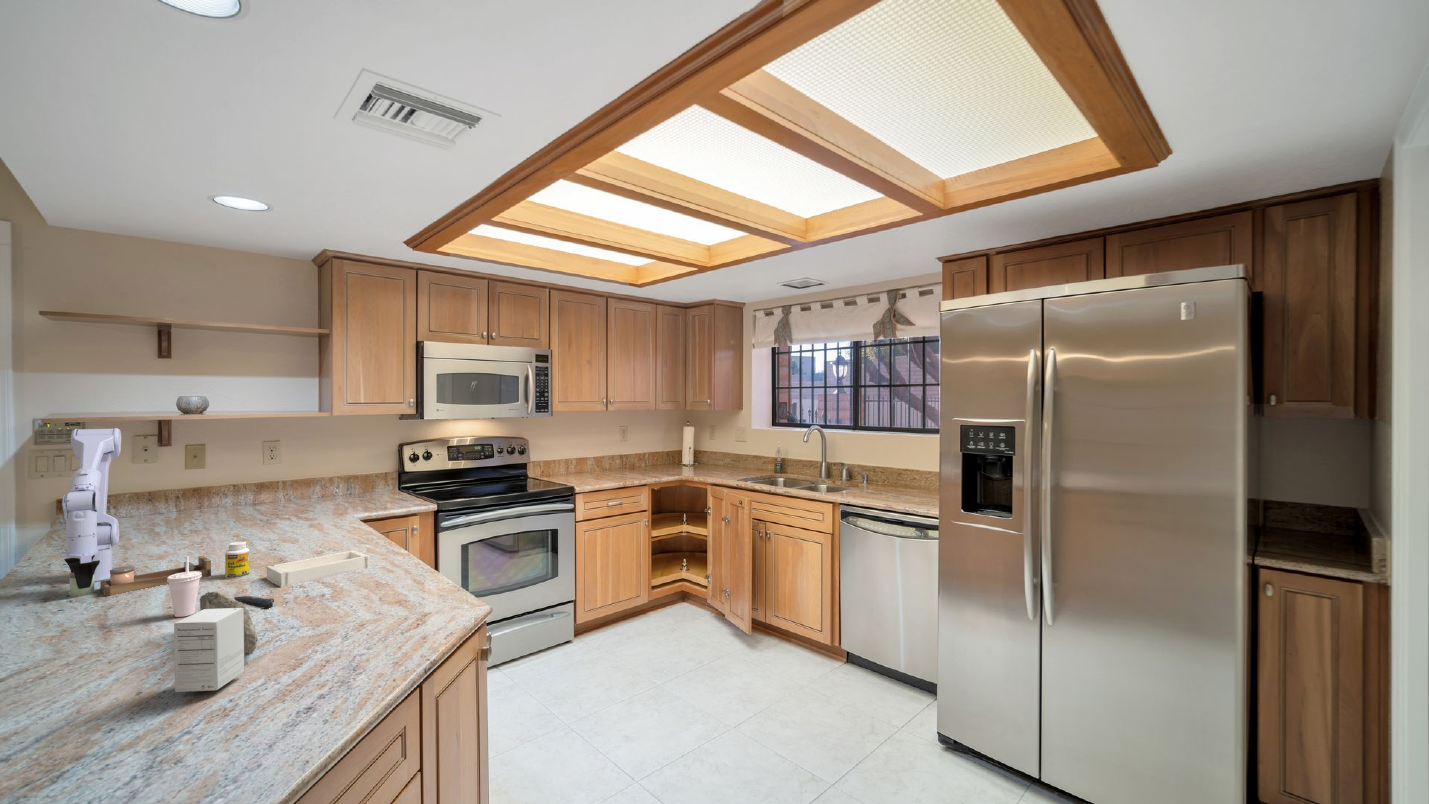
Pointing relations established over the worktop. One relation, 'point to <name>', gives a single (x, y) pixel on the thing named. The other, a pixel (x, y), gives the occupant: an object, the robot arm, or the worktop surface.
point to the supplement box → (208, 649)
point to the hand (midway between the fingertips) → (82, 585)
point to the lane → (153, 579)
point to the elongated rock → (220, 601)
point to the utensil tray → (317, 568)
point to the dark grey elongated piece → (256, 601)
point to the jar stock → (121, 575)
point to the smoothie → (184, 591)
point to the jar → (80, 592)
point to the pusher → (191, 567)
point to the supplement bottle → (237, 561)
